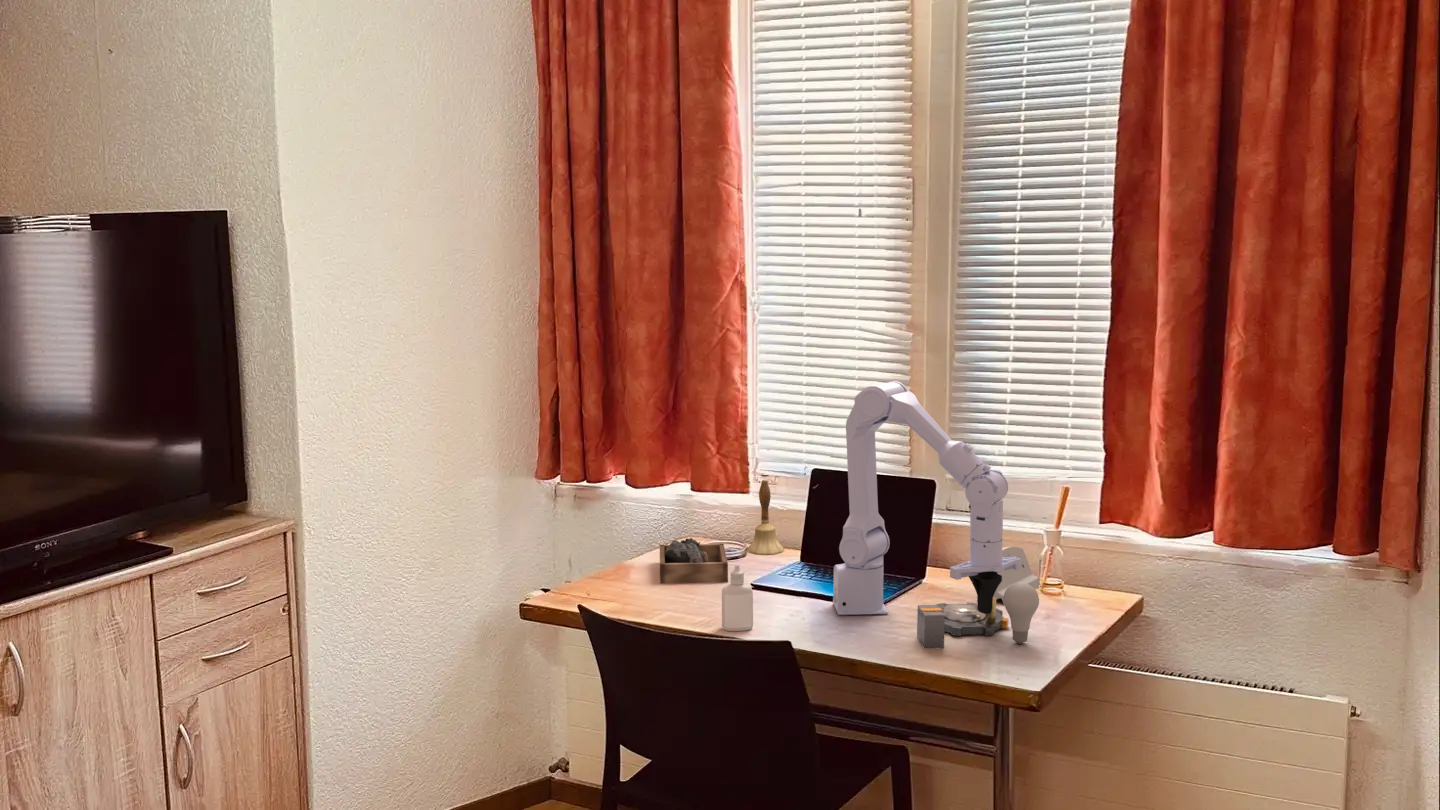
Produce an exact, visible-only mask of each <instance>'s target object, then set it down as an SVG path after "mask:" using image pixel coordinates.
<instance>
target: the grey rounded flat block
mask: <svg viewBox="0 0 1440 810" xmlns="http://www.w3.org/2000/svg"><path fill="white" fill-rule="evenodd" d="M1003 557H1016V558H1019V559H1021V560H1020V569H1017V570H1015V569H1010V570H1004V571H1000V572H997V574H999V575H1001V576H1002V581H1001V583H1000V584H999V586H998V588H997V589H996V591H995V594H994V596H993V597H995V598H996V600H999V599H1001V600H1002V603H1003V605H1004V602H1003V597H1004V593H1005V591H1006V590H1007V588H1008V587H1009V586H1011V585H1013V584H1015V583H1027V584H1029V585H1031V586H1032V587H1033V588H1034V589H1035V590H1037V589H1039V588H1040V587H1039V585H1041V582H1040V579H1039V577H1038V576H1036V575H1034V574H1033V572H1032V570H1031V567H1030V564H1029V561H1028V558H1027V557H1026V554H1025V551H1024V549H1023V548H1021V547H1018V546H1005V547H1002V558H1003ZM1038 587H1039V588H1038Z"/></svg>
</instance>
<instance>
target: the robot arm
mask: <svg viewBox="0 0 1440 810" xmlns="http://www.w3.org/2000/svg"><path fill="white" fill-rule="evenodd" d="M886 422H889V423H896V424H904V425H907V426H908V427H909V428H910V429H911V430H913V431H914V432H915V433H916V434H917V435H918V436H919V437H920V438H922V440H923V441H924V442H925V443H927V444H928V445H929V446H930V447H931V448H932V449H933V450H934V451H936V452H937V455H938V464H939V465H940V466H941V467H942V468H943V469H944V470H945V471H946V472H947V473H948V474H949V475H950V476H951V478H953V479H954V480H955V482H957V483H958V484H959V485H960V486H961V487H962V488H963V489H964V495H965V498H966V500H967V501H968V503H969V504H970V517H969V519H970V520H969V560H968V561H965V562H962V563H960V564H957V565H953V566H950V567H949V578H951V579H954V580H958V581H959V580H961V579H962V578H967V577H968V579H969V580H970V582H971V584H972V586H973V587H974V590H975V592H976V596H977V597H976V598H977V602H976V604H977V606H978V611H979V612H981V613H984V614H990V613H991V611H992V602H993V596H994V594H995V591H996V589H997V588H998V586H999V584H1000V583H1001V581H1002V576H1001V575H999V574H997V572H1000V571H1004V570H1010V569H1015V570H1017V569H1020V560H1021V559H1019V558H1016V557H1003V558H1002V548H1003V530H1004V529H1003V528H1004V527H1003V526H1004V525H1003V523H1004V520H1003V518H1004V517H1003V516H1004V513H1003V510H1004V500H1003V499H1004V498H1005V497H1006V496H1007V494H1008V491H1009V485H1008V481H1007V479H1006V477H1005V476H1004V474H1003V472H1001V471H999V470H997V469H992V467H991V465H989V464H988V463H984V462H983V461H982V460H981V458H979V456H977V454H975V453H974V452H973V451H972V450H973V448H974V447H973V446H972V445H971V444H970V443H965V442H963V441H962V440H953V439H951V437H950V436H949V435H948V434H947V433H946V432H945V430H943V428H942V427H941V426H940V425H939V424H938V423H937V422H936V420H935V419H934V418H933V417H932V416H931V415H930V414H929V412H927V410H926V409H925V408H924V407H923V406H922V405H921V404H920V402H919V400H918V398H917V397H916V395H915V394H914V393H913V392H911V391H910V390H908V388H907V387H906V386H905V385H904V384H903V383H902V382H900V381H897V380H890V381H888V382H885V383H881V384H877V385H870V386H867V387H865V388H863V390H861V391H860V392H858V393H857V394H856V395H855V396H854V404H853V406H852V408H851V410H850V412H849V415H848V417H847V419H846V421H845V437H846V458H847V459H846V460H847V461H846V462H847V479H848V480H847V485H848V504H849V505H848V506H849V507H848V509H849V515H848V517H847V518H846V521H845V524H844V525H843V527H842V538H841V540H840V543H839V547H838V551H839V555H840V557H841V559H842V560H843V562H844V563H839V564H835V565H834V566H833V586H832V587H833V595H832V604H833V606H834V608H835V611H836V613H837V615H839V616H851V615H887V614H888V613H889V611H888V608H887V607H886V606H885V604H884V555H885V554H887V552H888V550H889V549H890V544H891V543H890V541H891V540H890V536H889V535H888V532H887V531H886V526H885V520H884V518H883V517H882V516H881V515H880V513H879V502H878V501H879V500H878V478H877V477H878V476H877V475H878V474H877V458H876V457H877V453H876V432H877V430H878V429H879V428H880V427H882V426H883V425H884V424H885V423H886Z"/></svg>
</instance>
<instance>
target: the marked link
mask: <svg viewBox="0 0 1440 810" xmlns="http://www.w3.org/2000/svg"><path fill="white" fill-rule="evenodd" d="M916 620H917V623H916V626H917V627H916V630H917V631H916V638H917V639H918V641H919V643H920V644H921V646H922V647H924V648H923V649H924V650H925V649H945V631H944V628H945V615H944V613H943V612H942V610H941V608H939V607H938V605H936V604H917V618H916Z"/></svg>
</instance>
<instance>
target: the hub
mask: <svg viewBox="0 0 1440 810" xmlns="http://www.w3.org/2000/svg"><path fill="white" fill-rule="evenodd" d="M950 604H951V605H948V606H945V607H944V611H943V613H944V615H945V619H947V620H951V621H955V622H959V623H965V622H981V621H984V620H985V614H984V613H981V612H979V611H978V606H976V605H971V604H967V603H950Z"/></svg>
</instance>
